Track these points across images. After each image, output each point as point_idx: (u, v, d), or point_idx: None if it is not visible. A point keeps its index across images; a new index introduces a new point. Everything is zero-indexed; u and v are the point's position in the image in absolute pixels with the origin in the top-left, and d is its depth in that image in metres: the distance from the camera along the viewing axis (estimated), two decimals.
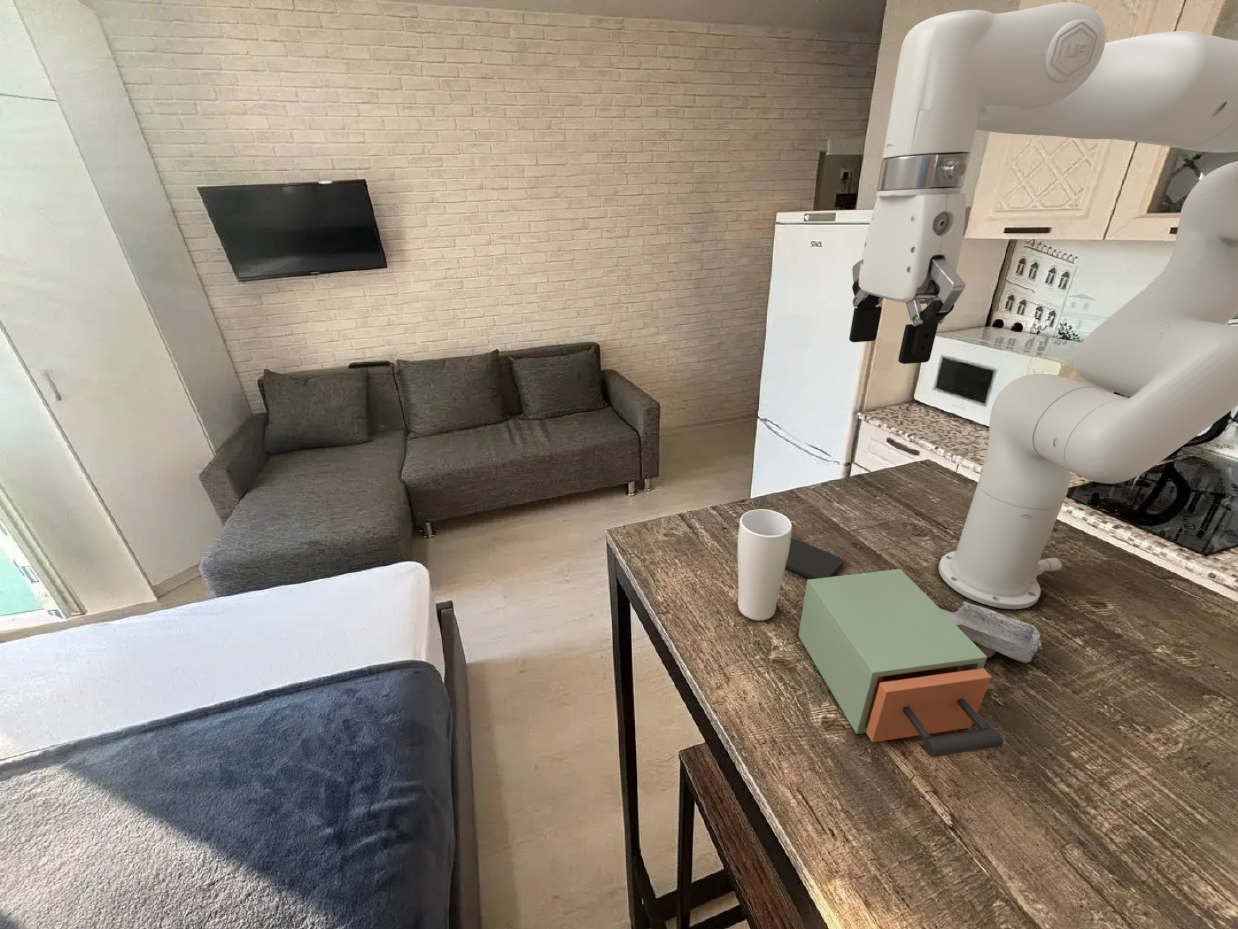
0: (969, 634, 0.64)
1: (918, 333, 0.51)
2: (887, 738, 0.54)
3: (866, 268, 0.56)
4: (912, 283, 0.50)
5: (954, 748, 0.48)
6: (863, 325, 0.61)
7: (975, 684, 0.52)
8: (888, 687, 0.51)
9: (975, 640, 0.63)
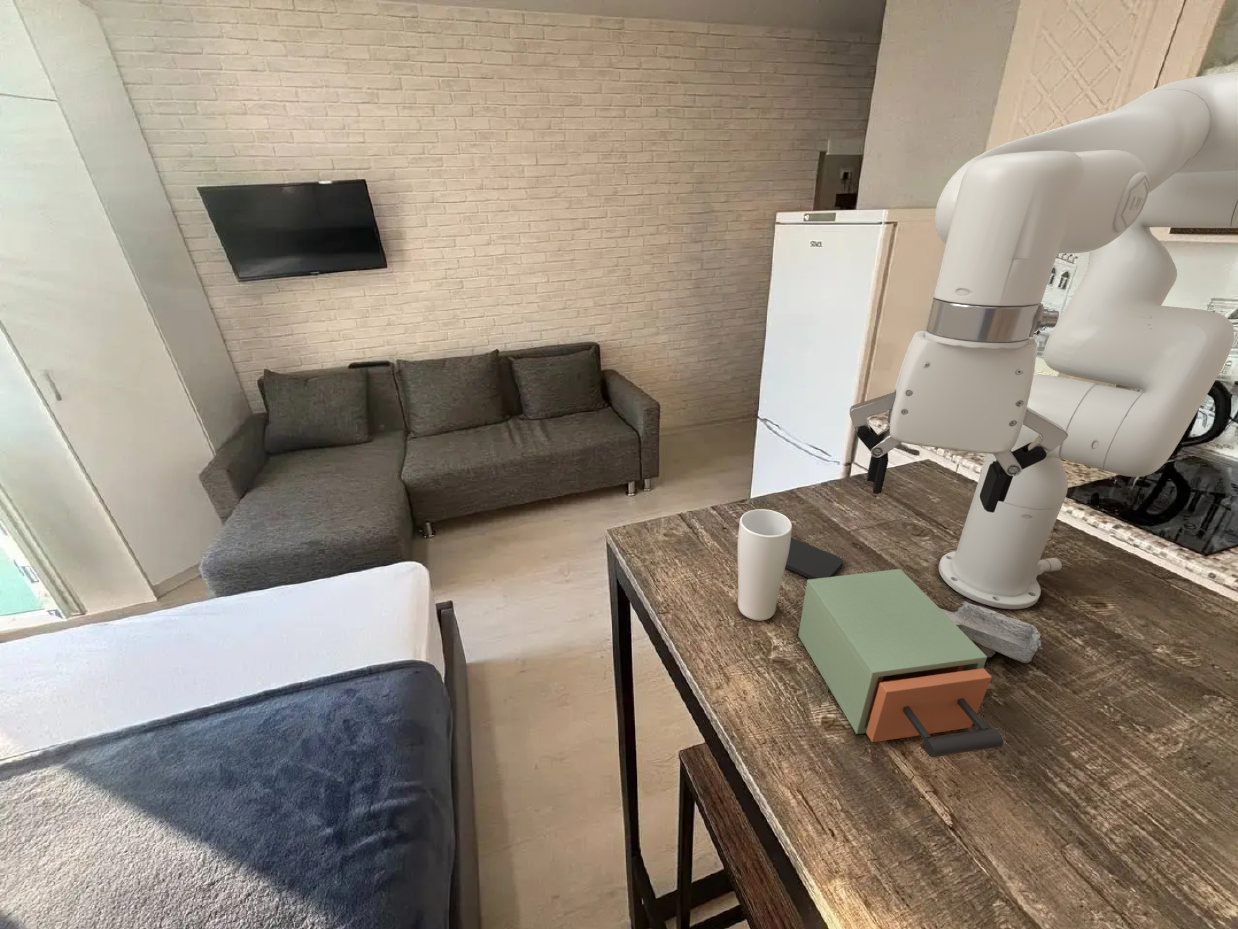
0: (969, 634, 0.64)
1: (1009, 480, 0.47)
2: (887, 738, 0.54)
3: (916, 419, 0.46)
4: (1016, 436, 0.44)
5: (954, 748, 0.48)
6: None
7: (975, 684, 0.52)
8: (888, 687, 0.51)
9: (975, 640, 0.63)
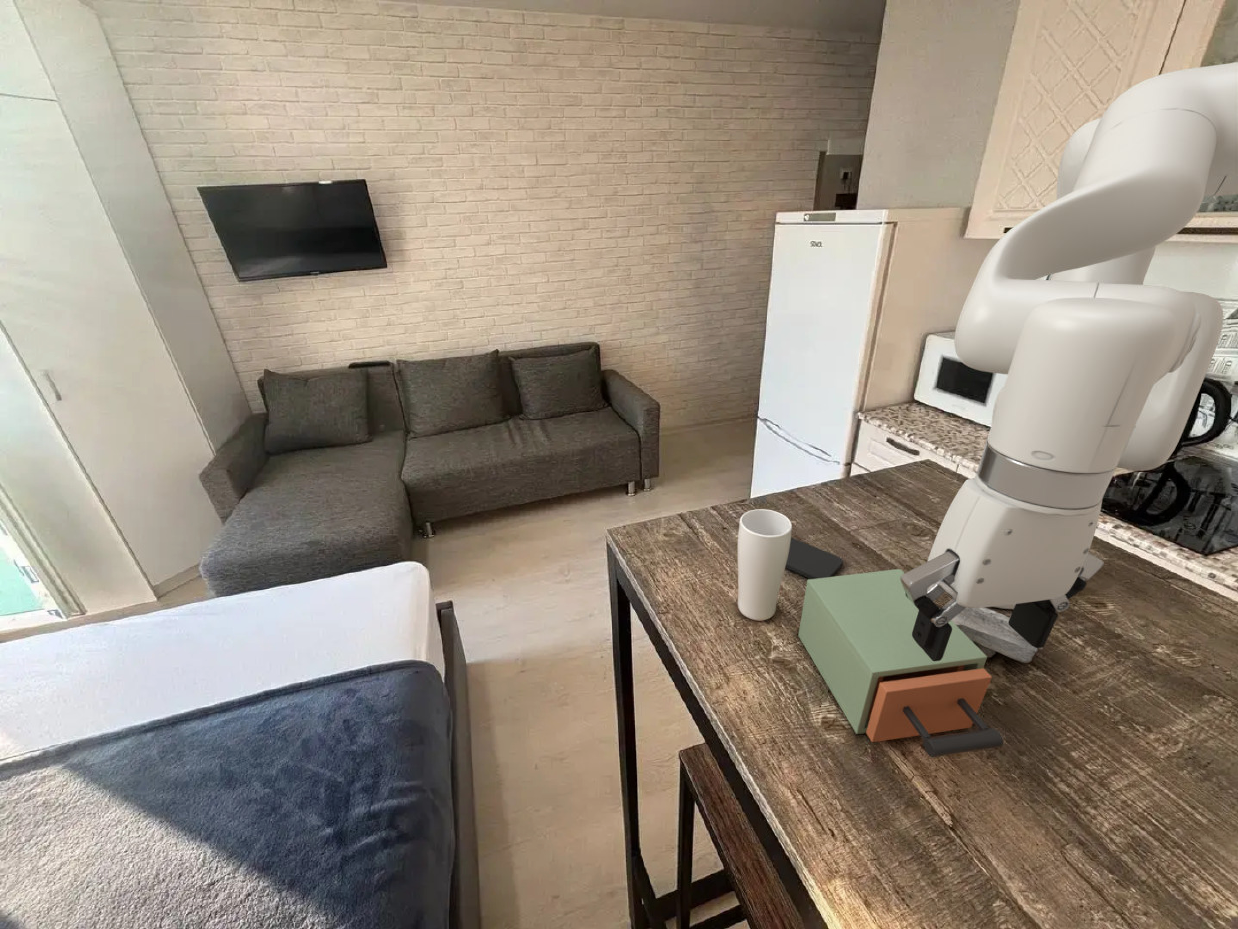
0: (969, 634, 0.64)
1: None
2: (887, 738, 0.54)
3: (991, 586, 0.39)
4: None
5: (954, 748, 0.48)
6: None
7: (975, 684, 0.52)
8: (888, 687, 0.51)
9: (975, 640, 0.63)
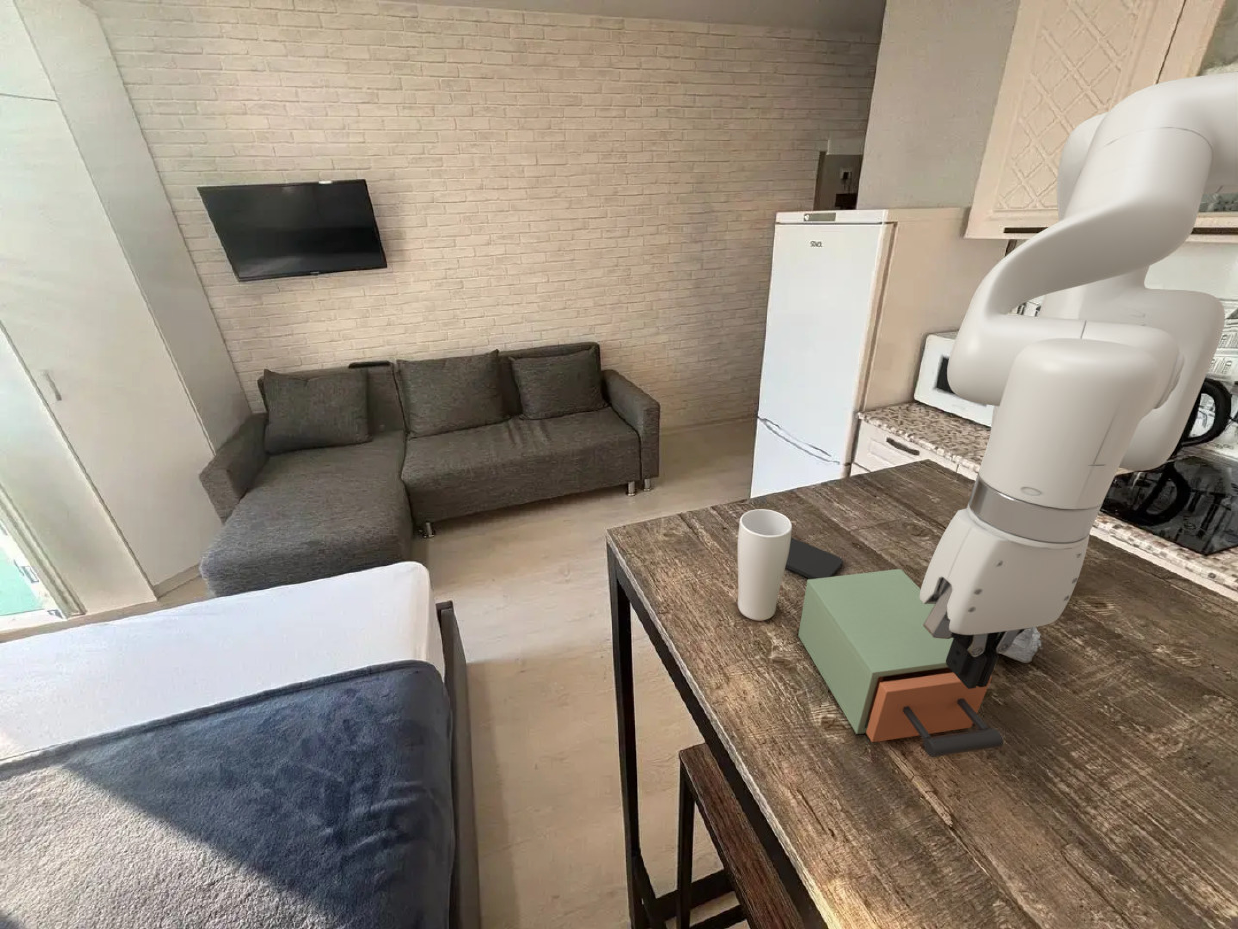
0: None
1: None
2: (887, 738, 0.54)
3: (983, 614, 0.40)
4: (1064, 607, 0.42)
5: (954, 748, 0.48)
6: None
7: None
8: (888, 687, 0.51)
9: None
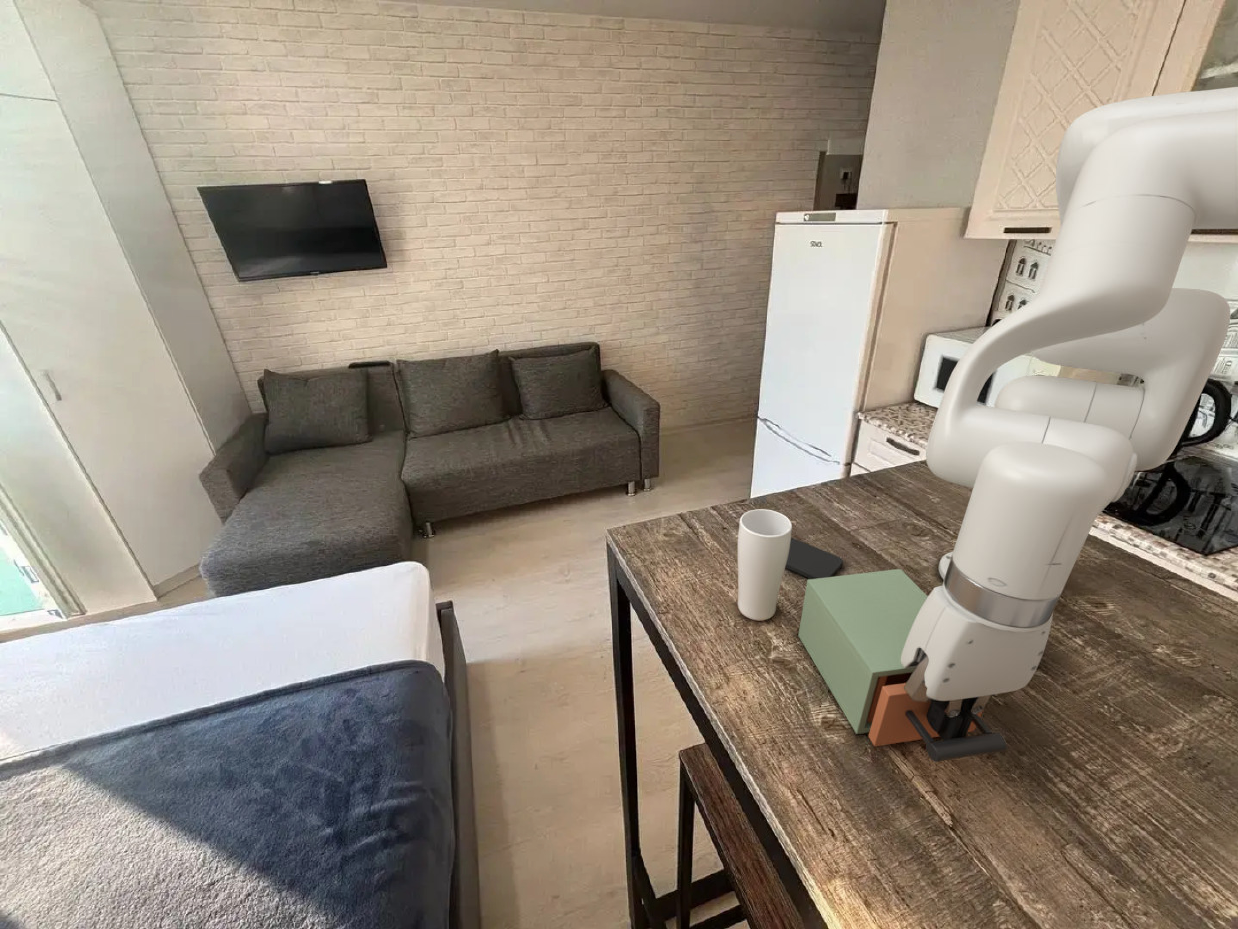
0: None
1: None
2: (889, 742, 0.53)
3: (956, 684, 0.44)
4: (1032, 674, 0.46)
5: (958, 752, 0.47)
6: None
7: None
8: (891, 691, 0.50)
9: None
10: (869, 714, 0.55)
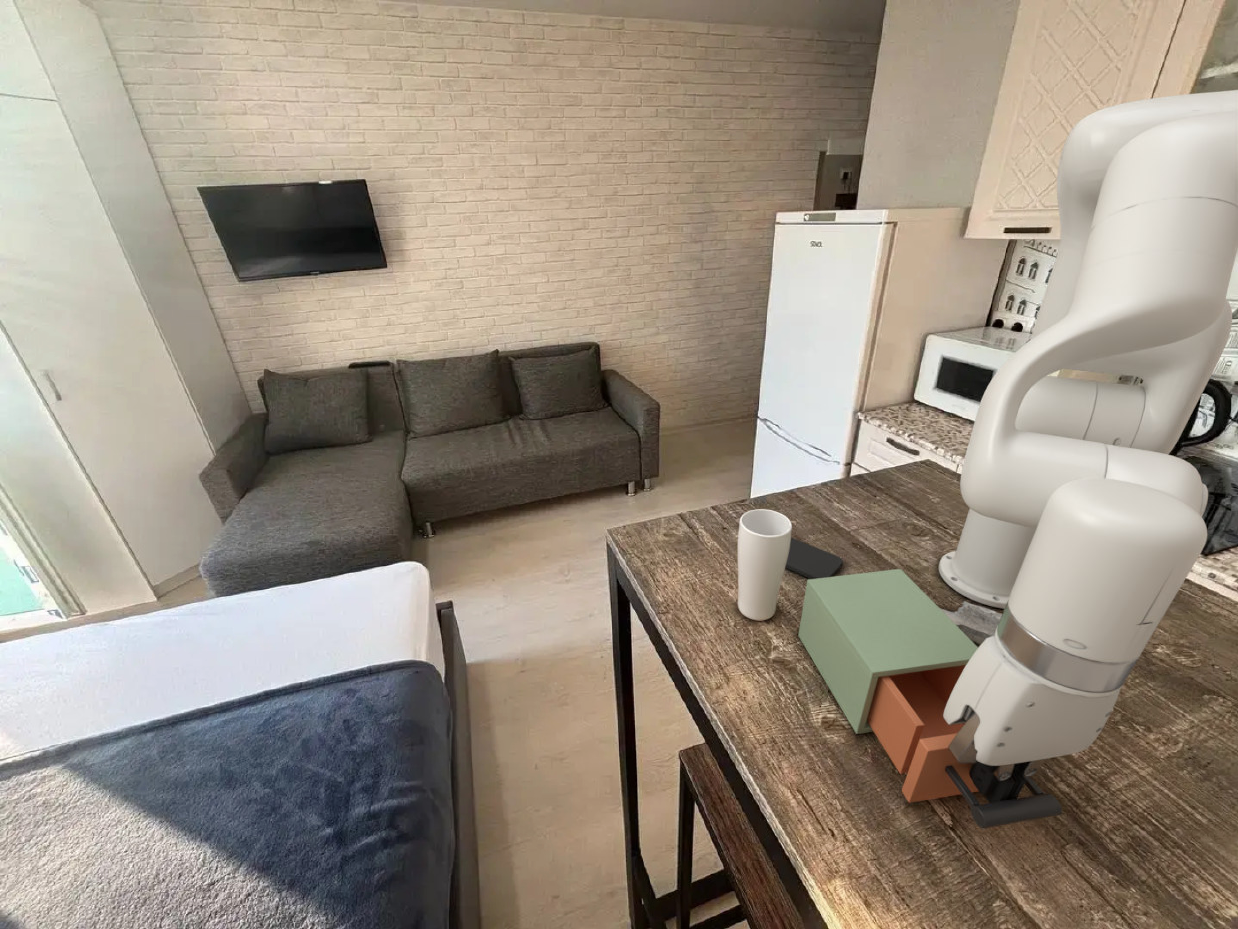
0: (969, 634, 0.64)
1: (1021, 775, 0.44)
2: (926, 798, 0.48)
3: (1012, 749, 0.39)
4: None
5: (1008, 818, 0.42)
6: None
7: None
8: (929, 745, 0.45)
9: (975, 640, 0.63)
10: (902, 765, 0.50)
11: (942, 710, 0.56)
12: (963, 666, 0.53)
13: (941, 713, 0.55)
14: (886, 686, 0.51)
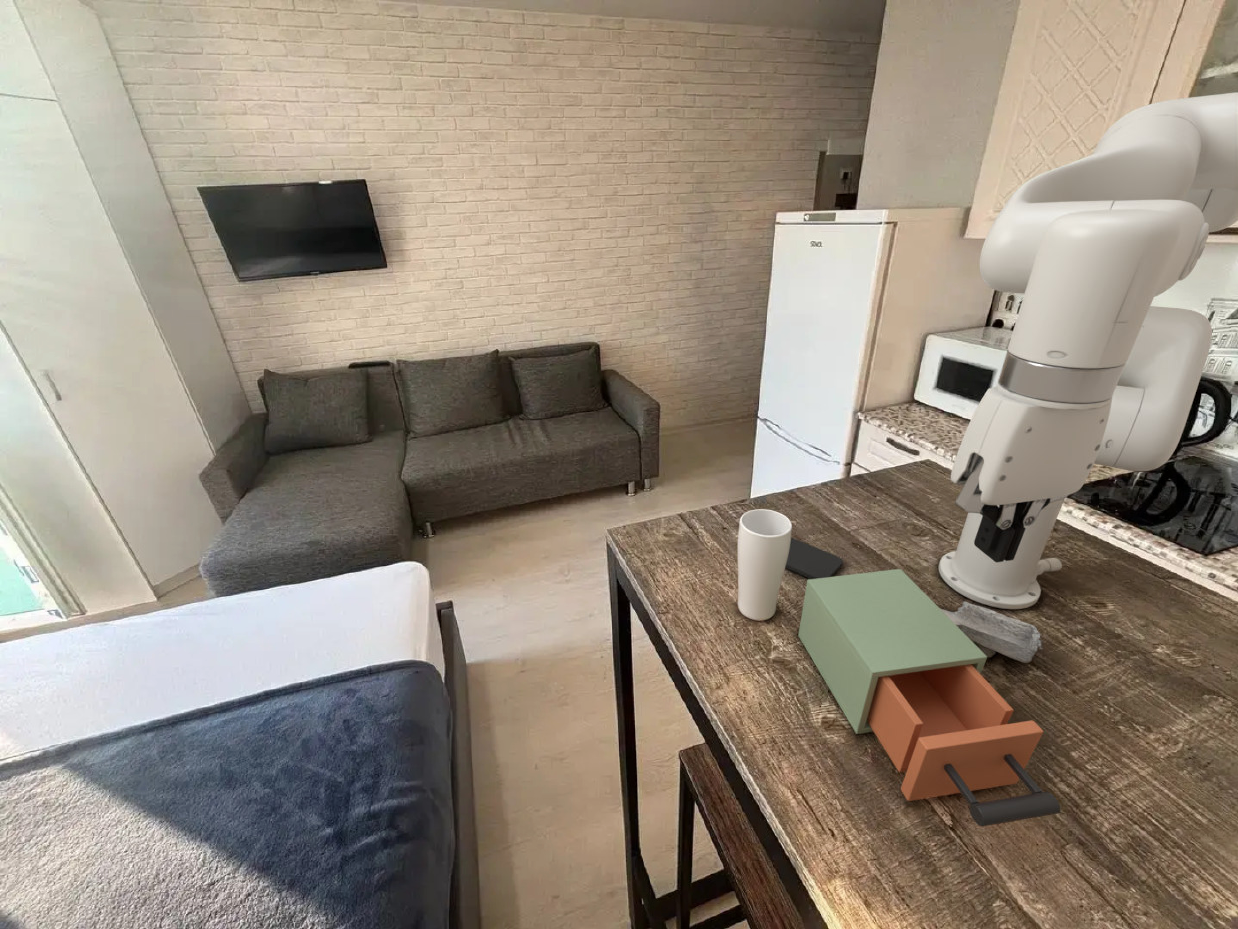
0: (969, 634, 0.64)
1: None
2: (925, 796, 0.48)
3: (1012, 482, 0.44)
4: None
5: (1006, 816, 0.42)
6: None
7: (1025, 739, 0.46)
8: (928, 743, 0.45)
9: (975, 640, 0.63)
10: (901, 764, 0.50)
11: (941, 709, 0.56)
12: (962, 665, 0.53)
13: (940, 712, 0.56)
14: (885, 685, 0.52)
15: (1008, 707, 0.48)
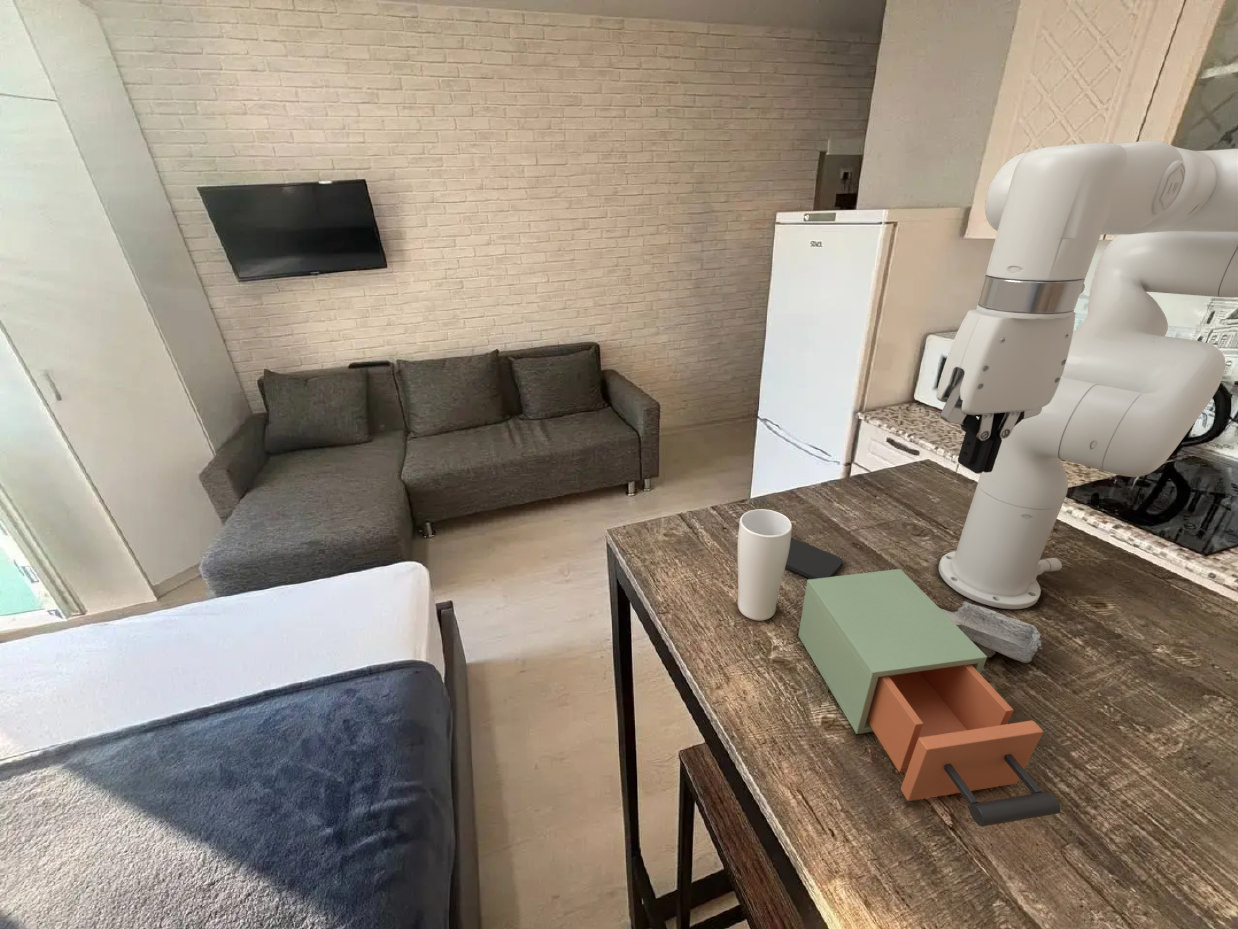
0: (969, 634, 0.64)
1: None
2: (925, 796, 0.48)
3: (989, 391, 0.50)
4: (1055, 390, 0.51)
5: (1006, 816, 0.42)
6: None
7: (1025, 739, 0.46)
8: (928, 743, 0.45)
9: (975, 640, 0.63)
10: (901, 764, 0.50)
11: (941, 709, 0.56)
12: (962, 665, 0.53)
13: (940, 712, 0.56)
14: (885, 685, 0.52)
15: (1008, 707, 0.48)
